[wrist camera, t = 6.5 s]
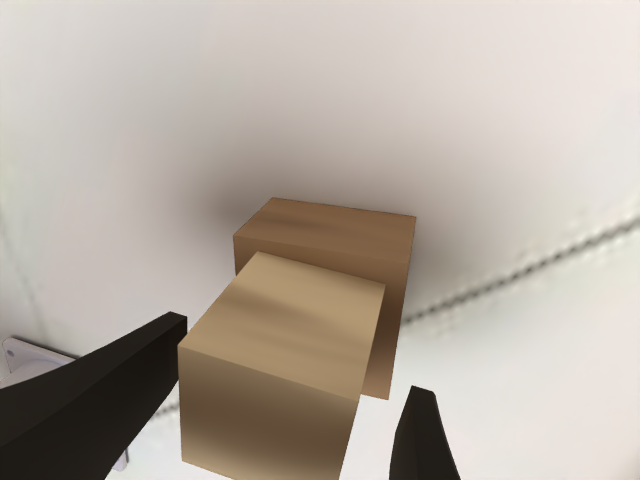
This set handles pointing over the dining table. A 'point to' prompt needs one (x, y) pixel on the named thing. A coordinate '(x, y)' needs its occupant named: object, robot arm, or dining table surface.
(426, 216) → the dining table surface
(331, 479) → the beech cube
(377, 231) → the walnut plinth
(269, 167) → the dining table surface
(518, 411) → the dining table surface
